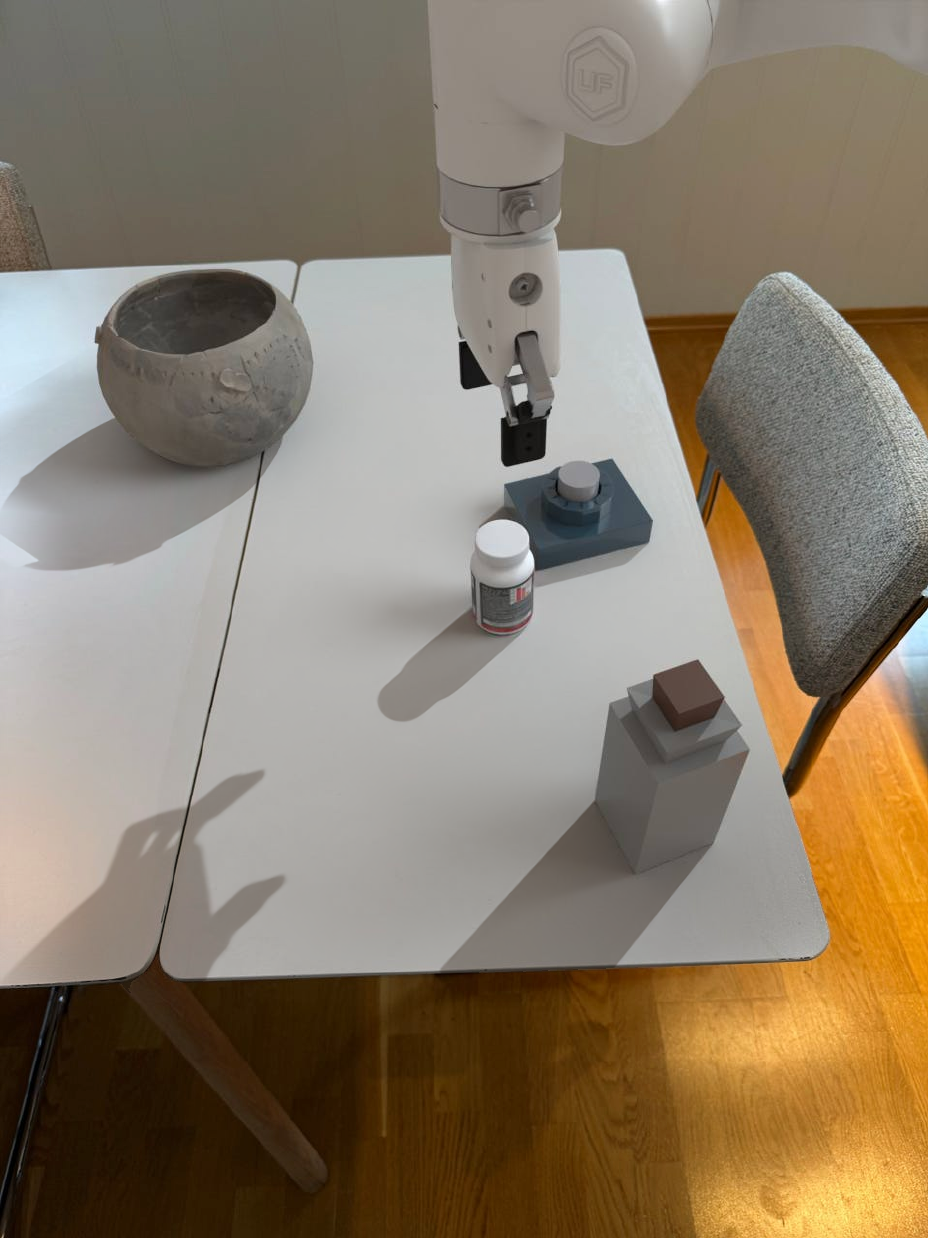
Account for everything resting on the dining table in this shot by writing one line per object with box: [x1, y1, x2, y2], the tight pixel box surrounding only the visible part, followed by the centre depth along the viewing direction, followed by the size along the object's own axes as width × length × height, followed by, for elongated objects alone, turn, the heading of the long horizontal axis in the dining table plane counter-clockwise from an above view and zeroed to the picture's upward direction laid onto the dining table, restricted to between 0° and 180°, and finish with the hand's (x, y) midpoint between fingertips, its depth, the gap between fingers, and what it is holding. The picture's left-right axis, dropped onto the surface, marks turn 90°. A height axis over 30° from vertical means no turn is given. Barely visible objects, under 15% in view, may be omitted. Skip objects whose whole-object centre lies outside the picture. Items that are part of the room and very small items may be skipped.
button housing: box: [503, 458, 654, 571], centre depth 90 cm, size 12×10×5 cm
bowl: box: [94, 268, 314, 467], centre depth 99 cm, size 23×23×15 cm
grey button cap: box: [557, 460, 600, 503], centre depth 88 cm, size 4×4×2 cm
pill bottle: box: [469, 519, 535, 636], centre depth 81 cm, size 6×6×10 cm
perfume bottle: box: [594, 658, 751, 875], centre depth 63 cm, size 7×7×18 cm
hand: (501, 420), depth 68 cm, fingers open, 9 cm apart
